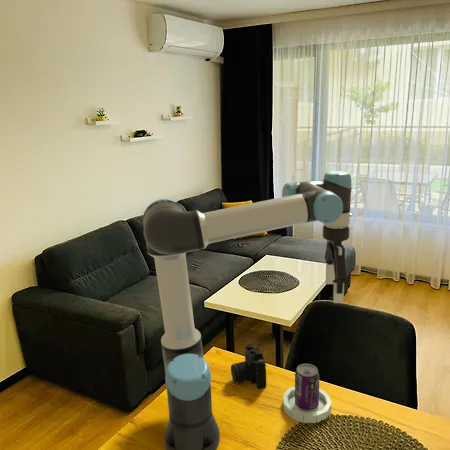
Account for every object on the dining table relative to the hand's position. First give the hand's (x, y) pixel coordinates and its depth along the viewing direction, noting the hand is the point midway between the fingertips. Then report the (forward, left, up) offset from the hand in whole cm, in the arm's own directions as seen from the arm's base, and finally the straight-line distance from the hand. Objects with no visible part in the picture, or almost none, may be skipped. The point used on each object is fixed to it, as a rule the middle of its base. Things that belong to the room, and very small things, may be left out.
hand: (333, 292), depth 132 cm
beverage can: (-9, -10, -32) cm, 35 cm away
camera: (-27, +4, -33) cm, 43 cm away
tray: (-9, -10, -33) cm, 35 cm away
